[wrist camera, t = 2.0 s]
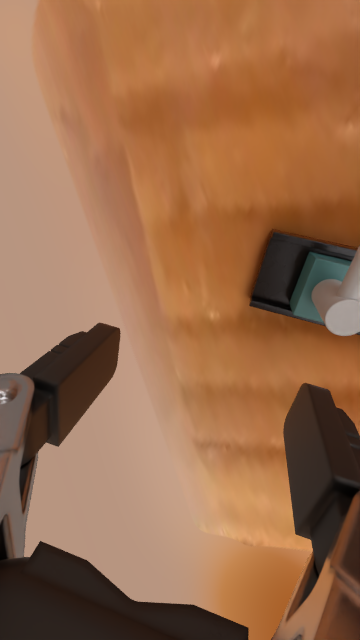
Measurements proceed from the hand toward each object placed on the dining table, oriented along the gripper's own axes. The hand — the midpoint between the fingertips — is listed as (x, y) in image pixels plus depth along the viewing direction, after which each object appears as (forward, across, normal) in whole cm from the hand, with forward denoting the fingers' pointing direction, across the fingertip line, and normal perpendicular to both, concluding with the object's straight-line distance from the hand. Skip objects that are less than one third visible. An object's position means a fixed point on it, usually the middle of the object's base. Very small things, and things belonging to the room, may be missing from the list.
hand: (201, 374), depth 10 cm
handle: (+18, -8, -2) cm, 20 cm away
